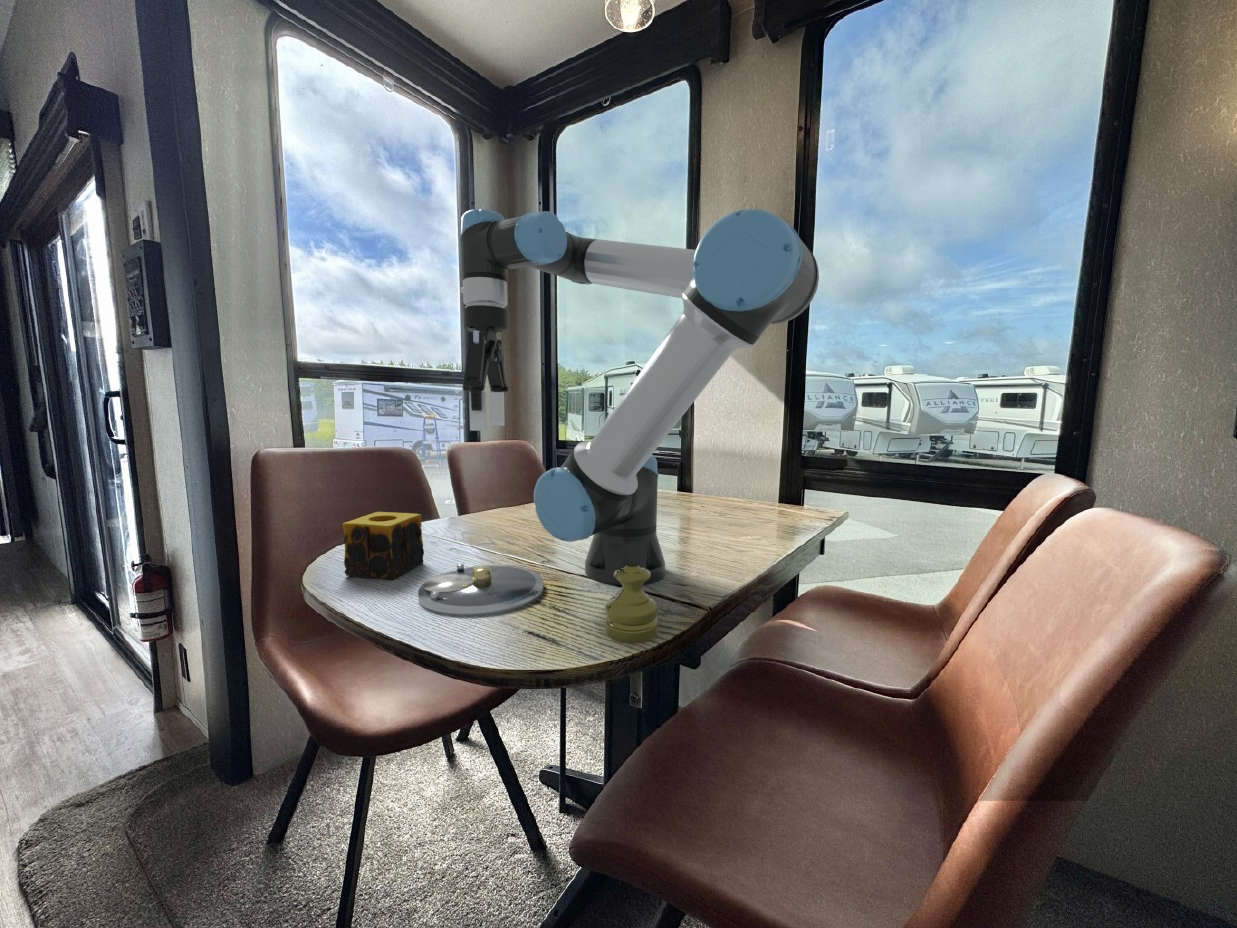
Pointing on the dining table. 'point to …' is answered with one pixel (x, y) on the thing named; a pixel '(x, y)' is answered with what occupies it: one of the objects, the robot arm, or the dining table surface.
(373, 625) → the dining table surface
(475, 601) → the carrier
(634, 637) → the gold pawn
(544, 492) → the robot arm
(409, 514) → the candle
